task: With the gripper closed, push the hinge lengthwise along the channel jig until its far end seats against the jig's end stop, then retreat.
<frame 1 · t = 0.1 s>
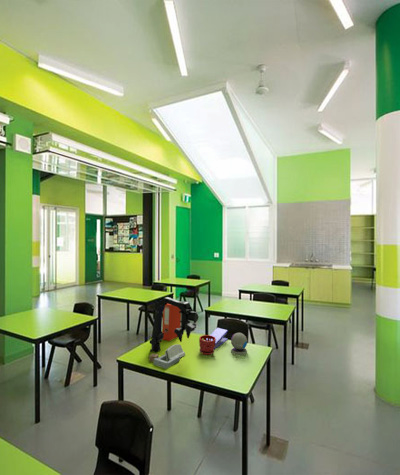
hand: (184, 340, 204), 15 cm above the table, fingers open, 9 cm apart
channel jig: (167, 361, 199), on the table
spacer block: (153, 360, 201), on the table
plant pot: (207, 352, 217), on the table
file binder: (171, 337, 249), on the table
webcam: (238, 351, 221), on the table
hinge: (175, 357, 207), on the table
stapler: (215, 344, 237), on the table
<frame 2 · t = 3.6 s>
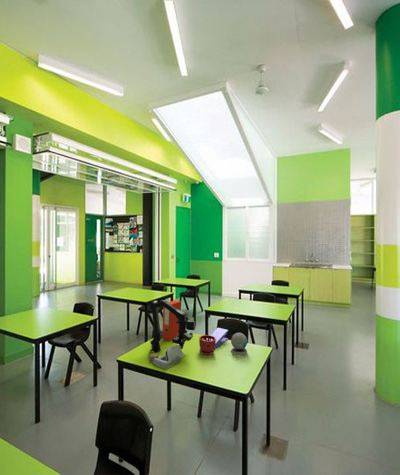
hand: (181, 348, 213), 4 cm above the table, fingers closed
hinge: (174, 358, 206), on the table, touching gripper
everything else where it was.
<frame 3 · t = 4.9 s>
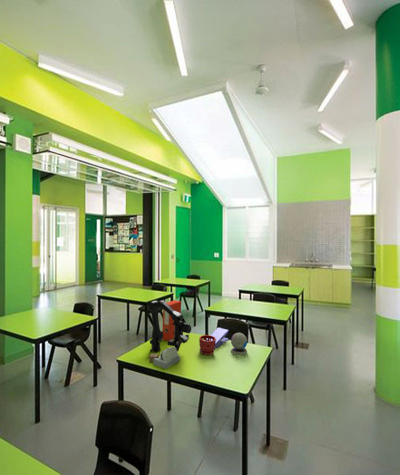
hand: (177, 351, 209), 4 cm above the table, fingers closed
hinge: (169, 361, 201), on the table, touching gripper
everything else where it was.
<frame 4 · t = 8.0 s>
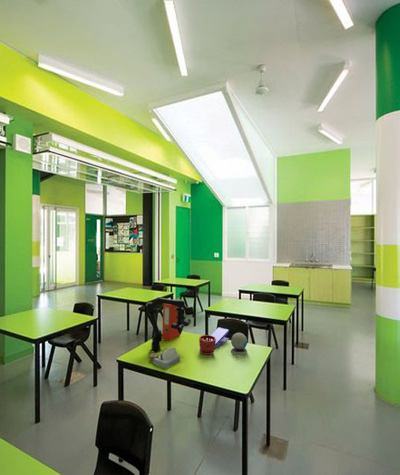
hand: (180, 334, 223), 12 cm above the table, fingers closed
hinge: (169, 361, 201), on the table
at the end: hinge inside the target area (0.6 cm from its centre), on the table; hinge moved 7.0 cm from its start; hinge tilted 1° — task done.
